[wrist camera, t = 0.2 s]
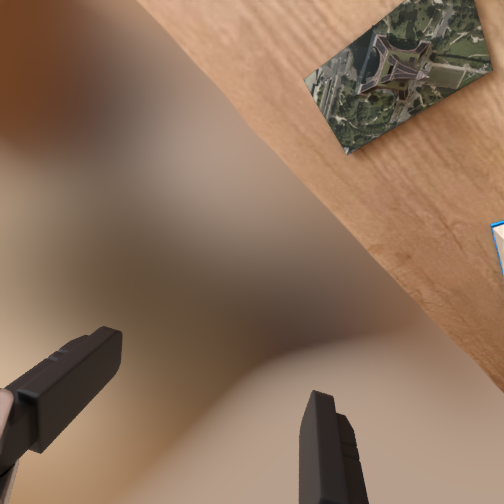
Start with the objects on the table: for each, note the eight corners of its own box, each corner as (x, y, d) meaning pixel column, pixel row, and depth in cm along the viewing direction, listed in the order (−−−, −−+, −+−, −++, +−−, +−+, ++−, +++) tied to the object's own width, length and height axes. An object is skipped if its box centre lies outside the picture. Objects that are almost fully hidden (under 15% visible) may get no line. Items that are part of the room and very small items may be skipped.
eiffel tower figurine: (345, 156, 34) (353, 201, 23) (303, 80, 30) (290, 92, 20) (491, 69, 26) (601, 78, 16) (458, -47, 23) (573, -137, 12)
